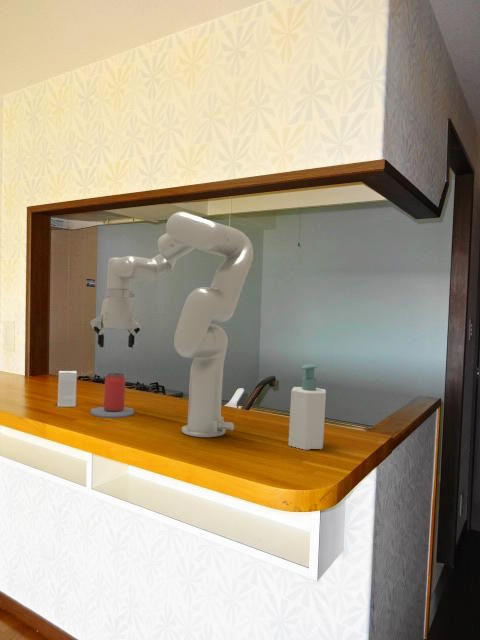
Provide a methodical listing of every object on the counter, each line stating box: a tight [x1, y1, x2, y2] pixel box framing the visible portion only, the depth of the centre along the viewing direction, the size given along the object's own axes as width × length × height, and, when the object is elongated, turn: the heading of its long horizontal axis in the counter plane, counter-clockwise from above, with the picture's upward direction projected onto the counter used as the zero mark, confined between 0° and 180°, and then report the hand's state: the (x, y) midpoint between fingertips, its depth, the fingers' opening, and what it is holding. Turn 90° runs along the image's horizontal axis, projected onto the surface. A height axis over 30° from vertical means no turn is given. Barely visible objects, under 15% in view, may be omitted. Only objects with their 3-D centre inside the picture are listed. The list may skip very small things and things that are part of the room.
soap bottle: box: [287, 364, 327, 451], centre depth 135 cm, size 10×9×22 cm
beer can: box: [103, 372, 126, 412], centre depth 164 cm, size 7×7×12 cm
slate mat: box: [90, 406, 135, 419], centre depth 164 cm, size 14×14×1 cm
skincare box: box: [57, 370, 78, 408], centre depth 172 cm, size 6×4×12 cm
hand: (116, 347), depth 164 cm, fingers open, 9 cm apart
